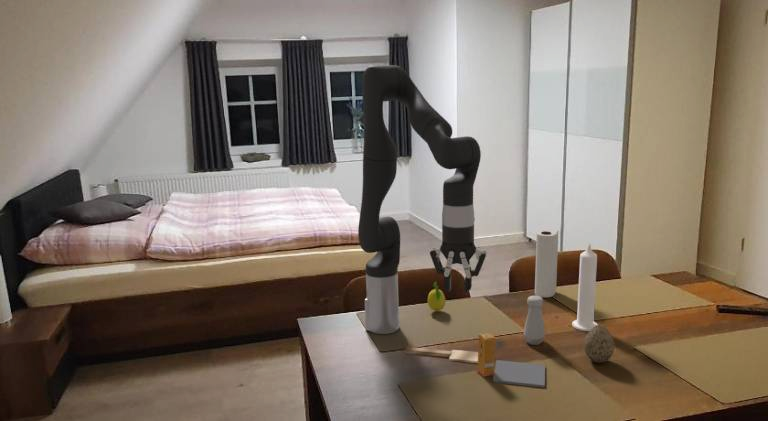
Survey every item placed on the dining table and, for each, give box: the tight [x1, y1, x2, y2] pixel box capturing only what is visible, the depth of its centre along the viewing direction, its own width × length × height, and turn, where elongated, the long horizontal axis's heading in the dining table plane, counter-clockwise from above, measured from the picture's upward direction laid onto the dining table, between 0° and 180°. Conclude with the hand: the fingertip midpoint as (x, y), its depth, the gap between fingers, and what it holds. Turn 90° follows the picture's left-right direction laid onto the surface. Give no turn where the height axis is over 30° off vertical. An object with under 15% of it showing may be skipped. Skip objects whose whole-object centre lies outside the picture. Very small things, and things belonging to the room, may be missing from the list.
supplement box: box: [477, 332, 496, 378], centre depth 142 cm, size 3×3×10 cm
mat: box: [492, 359, 546, 388], centre depth 142 cm, size 12×10×1 cm
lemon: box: [427, 281, 446, 313], centre depth 180 cm, size 7×6×10 cm
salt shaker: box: [523, 295, 546, 346], centre depth 158 cm, size 6×6×13 cm
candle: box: [571, 243, 599, 332], centre depth 165 cm, size 7×7×25 cm
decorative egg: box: [583, 324, 615, 364], centre depth 146 cm, size 7×7×10 cm
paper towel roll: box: [534, 230, 559, 298], centre depth 190 cm, size 7×6×21 cm
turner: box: [405, 346, 478, 364], centre depth 153 cm, size 20×5×1 cm, turn 74°
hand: (458, 290), depth 140 cm, fingers open, 3 cm apart
